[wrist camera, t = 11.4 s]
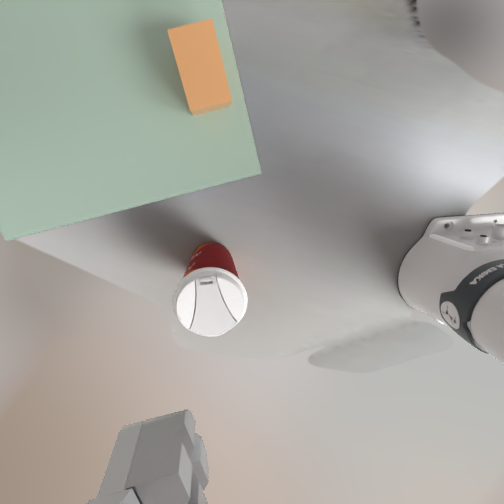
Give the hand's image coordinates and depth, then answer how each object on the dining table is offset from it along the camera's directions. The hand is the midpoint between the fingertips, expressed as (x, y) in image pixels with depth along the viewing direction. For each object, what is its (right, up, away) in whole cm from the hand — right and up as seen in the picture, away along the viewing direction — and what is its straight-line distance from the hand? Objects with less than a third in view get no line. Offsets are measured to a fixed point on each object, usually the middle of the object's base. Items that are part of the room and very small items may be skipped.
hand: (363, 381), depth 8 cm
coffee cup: (-9, +2, +42) cm, 43 cm away
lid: (-15, +15, +19) cm, 28 cm away
